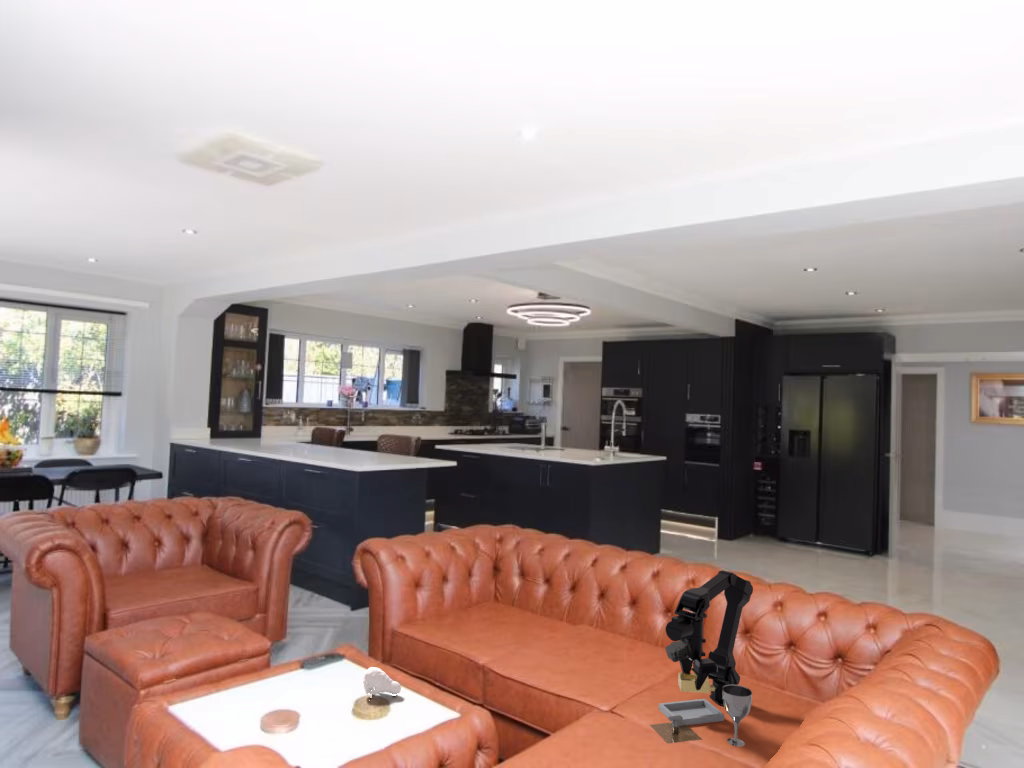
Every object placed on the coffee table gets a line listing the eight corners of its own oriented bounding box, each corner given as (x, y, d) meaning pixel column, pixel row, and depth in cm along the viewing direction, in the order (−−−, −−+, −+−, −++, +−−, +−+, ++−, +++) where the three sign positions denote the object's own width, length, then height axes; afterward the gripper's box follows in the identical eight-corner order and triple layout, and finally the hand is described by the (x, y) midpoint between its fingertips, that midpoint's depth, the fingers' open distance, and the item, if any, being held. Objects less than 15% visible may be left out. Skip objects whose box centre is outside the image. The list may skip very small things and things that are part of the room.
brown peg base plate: (682, 722, 207) (683, 706, 207) (702, 740, 196) (702, 724, 196) (649, 726, 204) (649, 710, 204) (667, 745, 193) (668, 728, 193)
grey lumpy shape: (368, 662, 222) (405, 668, 221) (365, 689, 222) (401, 695, 221) (362, 670, 216) (400, 676, 215) (359, 697, 216) (396, 704, 215)
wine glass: (716, 736, 199) (718, 684, 199) (743, 736, 199) (745, 684, 199) (727, 751, 191) (729, 696, 191) (755, 750, 191) (757, 696, 191)
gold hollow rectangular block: (680, 691, 208) (681, 680, 208) (678, 683, 214) (678, 672, 214) (716, 693, 208) (716, 682, 208) (712, 685, 213) (712, 674, 213)
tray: (704, 705, 218) (704, 698, 218) (724, 722, 208) (724, 714, 208) (658, 710, 214) (658, 703, 214) (676, 727, 203) (676, 720, 203)
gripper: (655, 625, 218) (653, 674, 218) (685, 647, 200) (683, 701, 200) (686, 622, 221) (685, 671, 221) (719, 644, 203) (717, 697, 203)
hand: (692, 685), depth 211 cm, fingers closed on gold hollow rectangular block, 7 cm apart
